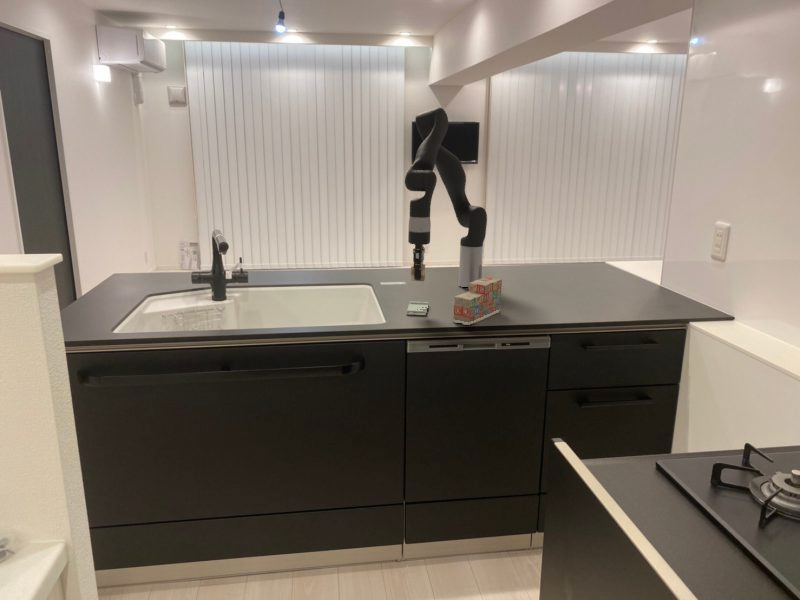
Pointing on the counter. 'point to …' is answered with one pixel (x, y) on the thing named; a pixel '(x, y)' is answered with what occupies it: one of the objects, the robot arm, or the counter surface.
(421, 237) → the robot arm
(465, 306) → the stack of blocks
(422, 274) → the maple block
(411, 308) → the ceramic dish
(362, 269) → the counter surface
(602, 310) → the counter surface
